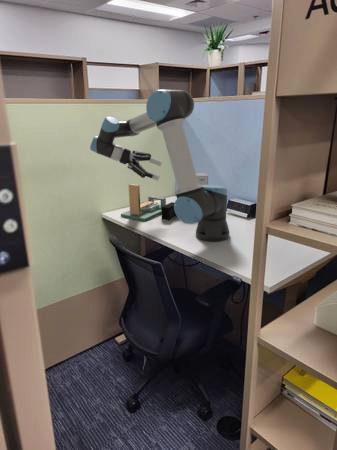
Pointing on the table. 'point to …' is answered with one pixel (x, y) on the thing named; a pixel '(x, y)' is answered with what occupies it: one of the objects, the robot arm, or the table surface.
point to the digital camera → (168, 211)
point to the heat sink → (151, 207)
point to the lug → (151, 199)
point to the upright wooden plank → (136, 200)
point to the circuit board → (143, 215)
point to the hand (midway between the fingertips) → (160, 171)
